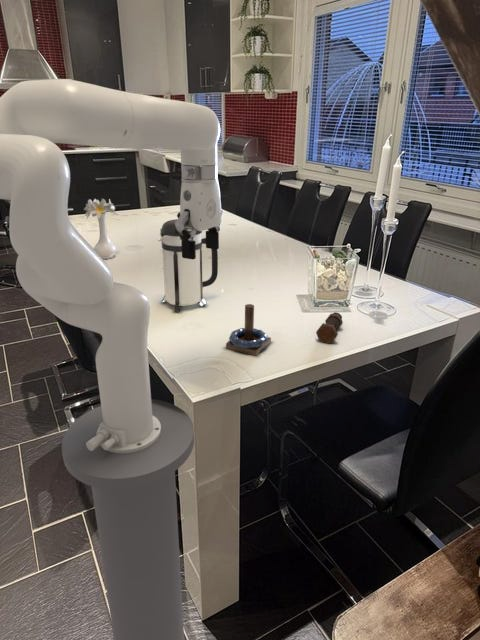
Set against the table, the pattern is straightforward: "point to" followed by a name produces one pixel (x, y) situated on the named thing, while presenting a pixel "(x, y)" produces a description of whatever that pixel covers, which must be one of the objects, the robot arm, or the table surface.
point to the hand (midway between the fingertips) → (201, 253)
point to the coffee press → (183, 268)
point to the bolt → (329, 328)
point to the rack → (248, 334)
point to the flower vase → (102, 226)
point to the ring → (248, 344)
